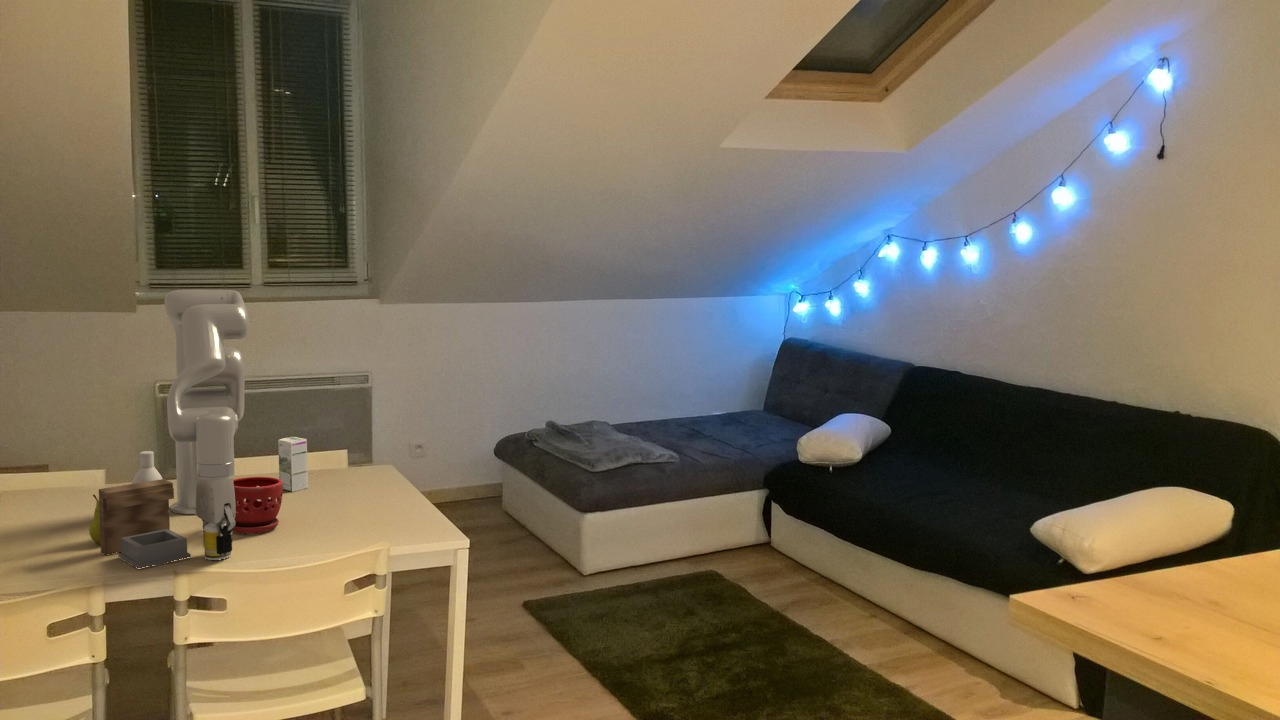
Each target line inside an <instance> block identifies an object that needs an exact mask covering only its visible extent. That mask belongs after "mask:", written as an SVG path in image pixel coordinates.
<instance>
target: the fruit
mask: <svg viewBox="0 0 1280 720" xmlns="http://www.w3.org/2000/svg"><path fill="white" fill-rule="evenodd" d="M92 497H93V498H94V499H95V501H96V504H95V509H94V513H93V515H94V516H93V520H92V522H91V524H90V526H89V532H88V533H89V536H90V538H91V540H92V541H93V542H94V543H96V544H97V545H101V539H100V514H99V498H97V496H96V495H95V494H93V495H92Z"/></svg>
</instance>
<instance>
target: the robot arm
mask: <svg viewBox="0 0 1280 720" xmlns="http://www.w3.org/2000/svg"><path fill="white" fill-rule="evenodd" d="M164 308H165V312H166V315H167V317H168V319H169V321H170V323H171V325H172V326H173V330H174V333H175V364H176V368H175V369H176V378H175V379H174V381H173V382H172V383H171V386H170V388H169V390H168V394H167V399H166V410H167V411H166V412H167V428H168V433H169V436H170V437H171V439H172V440H173V441H174V442H175V465H176V466H175V467H176V468H175V469H176V499H177V500H176V501H175V502H174V503H171V505H170V511H172V512H173V513H175V514H181V515H195V516H197V518H199V519H201V521H202V529H203V533H204V527H205V526H206V525H207V524H208V523H211V524H216V526H217V531H218V536H216V546H217V554H223V553H227V552H231V553H232V550H233V538H232V537H233V533H234V531H232V530H233V527H234V526H235V524H236V522H235V514H236V505H235V492H234V483H233V479H234V477H235V445H234V443H235V442H234V441H235V439H234V436H235V434H236V432H238V429H239V422H240V421H241V420H242V419H243V417H244V414H245V381H246V379H245V378H246V377H245V375H246V374H245V371H246V370H245V362H244V357H243V355H242V352H241V351H240V350H238V349H237V348H235V347H225V345H224V340H243V339H245V338H246V337H247V336H248V333H249V329H250V318H249V312H248V309H247V306H246V304H245V302H244V299H243V297H242V294H241V293H240V292H239V291H238V290H233V289H199V288H198V289H194V288H193V289H177V290H176V289H175V290H171V291H169V292H167V294H166V295H165V297H164ZM216 385H217V387H215V386H216ZM218 385H223V386H218ZM193 386H194V387H193ZM195 386H213V387H195ZM224 518H226V521H222V522H221V519H224ZM222 524H226V526H224V527H223V528H222V527H221V525H222Z"/></svg>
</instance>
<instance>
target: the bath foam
mask: <svg viewBox="0 0 1280 720" xmlns="http://www.w3.org/2000/svg"><path fill="white" fill-rule="evenodd" d="M154 456H155V453H154V451H153V450H145V451H141V452H139V467H140V468H139V469H138V471H136V473H135V475H134V477H133V478H132V481H131V482H132V483H131V484H136V483H142V482H148V481H155V480H161V479H163V477H162V475H161V474H160V472H159V471H158V470H157V469H156V467H155V457H154Z"/></svg>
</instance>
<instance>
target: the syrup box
mask: <svg viewBox="0 0 1280 720" xmlns="http://www.w3.org/2000/svg"><path fill="white" fill-rule="evenodd" d="M277 441H278V447H277V448H278V475H279V476H278V479H280V480H282V482H283V491H287V492H290V493H291V492H292V493H294V492H298V491H299V490H300V491H303V489H304V490H307V489H309V481H308V479H309V478H308V477H309V476H308V475H309V473H308V441H307V438H301V437H297V436H289V437H283V438H280V439H278V440H277Z"/></svg>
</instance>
